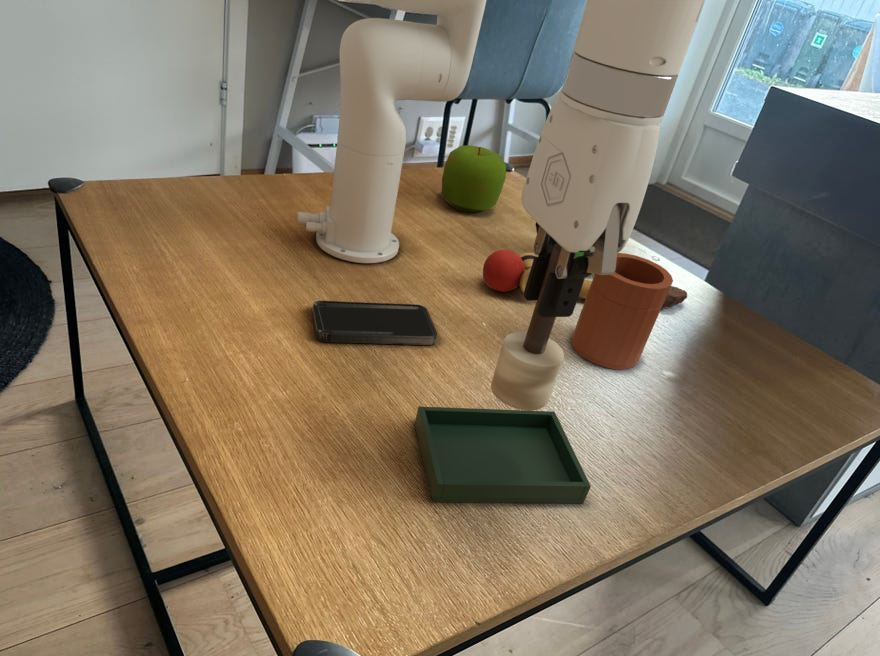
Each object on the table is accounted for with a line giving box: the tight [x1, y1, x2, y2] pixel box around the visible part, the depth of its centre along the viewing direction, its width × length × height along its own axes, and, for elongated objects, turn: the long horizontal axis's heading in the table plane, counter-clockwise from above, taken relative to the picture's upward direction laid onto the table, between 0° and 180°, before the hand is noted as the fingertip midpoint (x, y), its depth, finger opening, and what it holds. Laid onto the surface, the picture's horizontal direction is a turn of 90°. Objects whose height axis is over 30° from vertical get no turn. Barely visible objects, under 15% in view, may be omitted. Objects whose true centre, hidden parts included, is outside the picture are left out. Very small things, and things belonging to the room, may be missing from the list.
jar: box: [571, 252, 674, 370], centre depth 90 cm, size 9×9×12 cm
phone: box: [311, 300, 438, 346], centre depth 88 cm, size 8×1×15 cm
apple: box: [441, 144, 507, 213], centre depth 125 cm, size 11×11×11 cm
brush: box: [490, 243, 577, 411], centre depth 62 cm, size 6×6×15 cm
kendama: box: [482, 249, 592, 300], centre depth 102 cm, size 8×6×18 cm
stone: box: [661, 285, 688, 309], centre depth 107 cm, size 7×7×3 cm
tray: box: [414, 406, 592, 504], centre depth 71 cm, size 15×11×2 cm
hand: (547, 305), depth 61 cm, fingers closed on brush
